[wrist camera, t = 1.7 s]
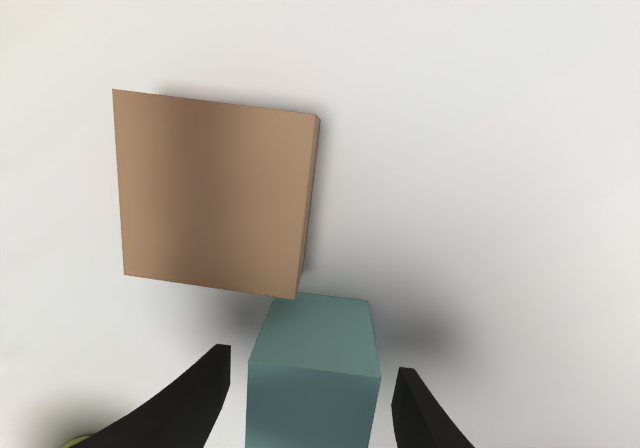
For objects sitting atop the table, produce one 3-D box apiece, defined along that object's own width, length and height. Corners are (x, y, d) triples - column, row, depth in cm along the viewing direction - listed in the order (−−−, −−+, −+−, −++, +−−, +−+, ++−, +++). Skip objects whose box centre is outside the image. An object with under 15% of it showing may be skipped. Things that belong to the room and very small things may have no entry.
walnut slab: (320, 120, 13) (315, 114, 10) (303, 268, 15) (294, 299, 12) (162, 100, 13) (112, 88, 10) (165, 249, 15) (123, 275, 12)
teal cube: (367, 300, 15) (381, 377, 10) (355, 374, 16) (362, 475, 11) (277, 289, 15) (248, 360, 10) (273, 363, 16) (244, 458, 11)
